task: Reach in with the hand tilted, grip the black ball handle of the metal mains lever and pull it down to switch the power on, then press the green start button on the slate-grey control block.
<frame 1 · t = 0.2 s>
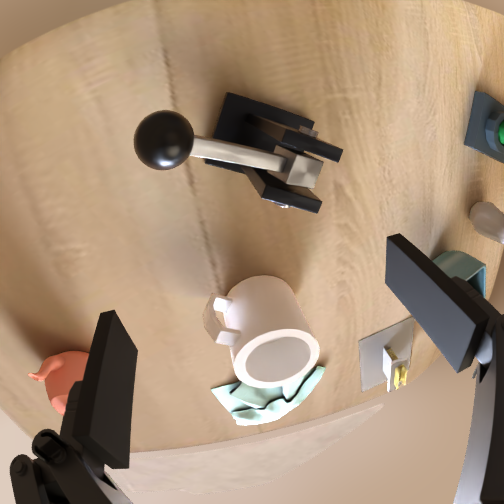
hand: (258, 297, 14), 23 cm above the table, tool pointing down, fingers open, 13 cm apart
lever: (236, 153, 20), point 15 cm above the table, hinge at 22.0°
mug: (252, 302, 44), on the table
salt shaker: (475, 212, 45), on the table
teapot: (79, 367, 45), on the table
cloth: (272, 388, 55), on the table
switch bracket: (258, 139, 34), on the table
flower pot: (435, 267, 49), on the table
platform: (386, 357, 58), on the table
control block: (487, 127, 37), on the table
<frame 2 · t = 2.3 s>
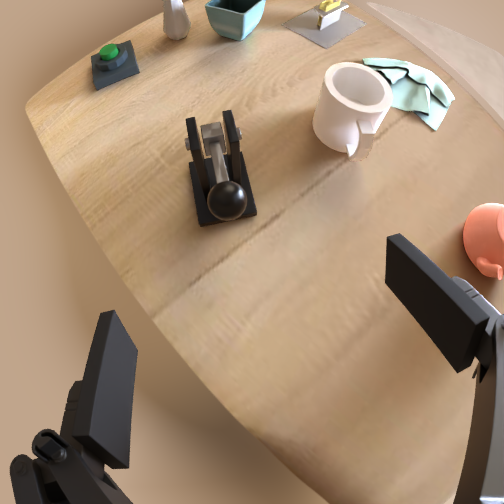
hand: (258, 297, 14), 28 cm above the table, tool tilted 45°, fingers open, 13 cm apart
lever: (219, 166, 30), point 15 cm above the table, hinge at 22.0°
mug: (342, 133, 49), on the table
salt shaker: (178, 35, 55), on the table
teapot: (482, 247, 44), on the table
cloth: (405, 87, 52), on the table
switch bracket: (221, 189, 46), on the table
flower pot: (236, 33, 55), on the table
platform: (326, 23, 57), on the table
control block: (115, 67, 53), on the table
start button: (109, 52, 48), point 5 cm above the table, slide at 0.2 cm
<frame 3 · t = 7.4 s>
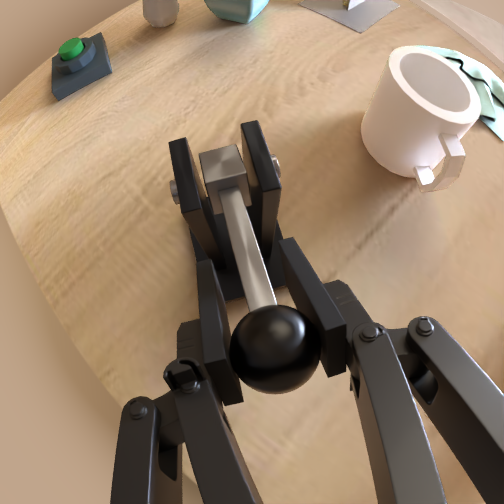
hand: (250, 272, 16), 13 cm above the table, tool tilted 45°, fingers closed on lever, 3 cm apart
lever: (245, 249, 15), point 15 cm above the table, hinge at 22.0°, touching gripper
mug: (401, 148, 33), on the table
salt shaker: (164, 21, 40), on the table
cloth: (461, 84, 37), on the table
switch bracket: (238, 244, 30), on the table
flower pot: (241, 15, 40), on the table
platform: (353, 3, 42), on the table
control block: (82, 68, 38), on the table
start button: (71, 49, 33), point 5 cm above the table, slide at 0.2 cm
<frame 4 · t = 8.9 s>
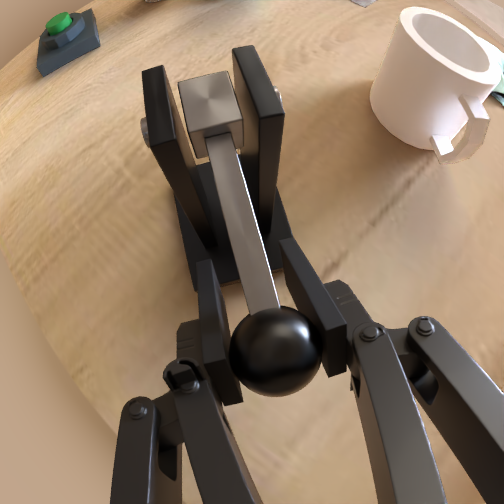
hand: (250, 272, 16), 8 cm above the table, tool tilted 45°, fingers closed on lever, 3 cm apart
lever: (241, 225, 12), point 13 cm above the table, hinge at -5.4°, touching gripper
mug: (415, 119, 28), on the table
cloth: (472, 61, 32), on the table
switch bracket: (232, 219, 26), on the table
control block: (70, 44, 33), on the table
start button: (58, 23, 29), point 5 cm above the table, slide at 0.2 cm
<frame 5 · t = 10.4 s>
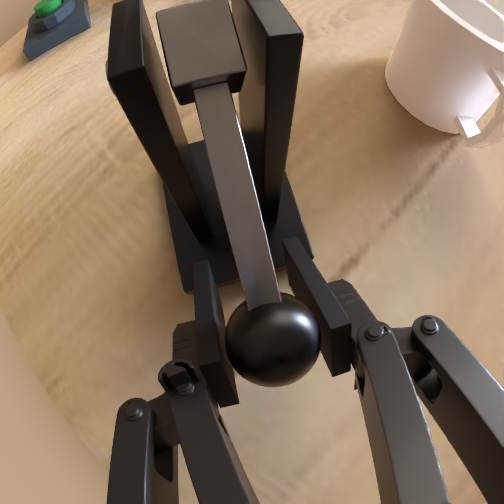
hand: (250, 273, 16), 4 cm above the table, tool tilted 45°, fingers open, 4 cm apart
lever: (238, 203, 10), point 11 cm above the table, hinge at -28.3°
mug: (434, 101, 24), on the table
switch bracket: (230, 206, 21), on the table
control block: (59, 27, 29), on the table
start button: (48, 5, 25), point 5 cm above the table, slide at 0.2 cm
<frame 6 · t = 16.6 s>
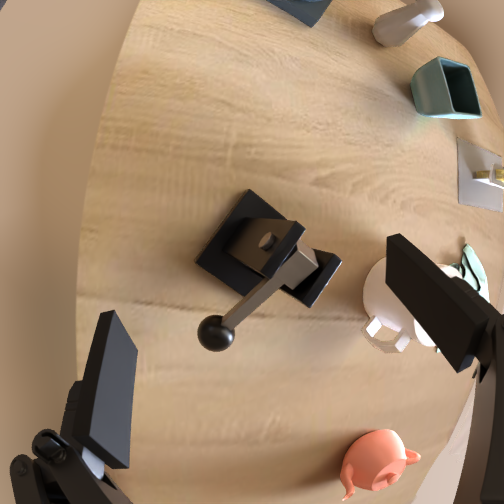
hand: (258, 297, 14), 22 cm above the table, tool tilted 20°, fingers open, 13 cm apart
lever: (250, 302, 27), point 11 cm above the table, hinge at -28.3°
mug: (384, 294, 44), on the table
salt shaker: (381, 36, 39), on the table
teapot: (361, 452, 48), on the table
cloth: (462, 298, 50), on the table
switch bracket: (247, 245, 37), on the table
flower pot: (421, 100, 43), on the table
platform: (482, 177, 49), on the table
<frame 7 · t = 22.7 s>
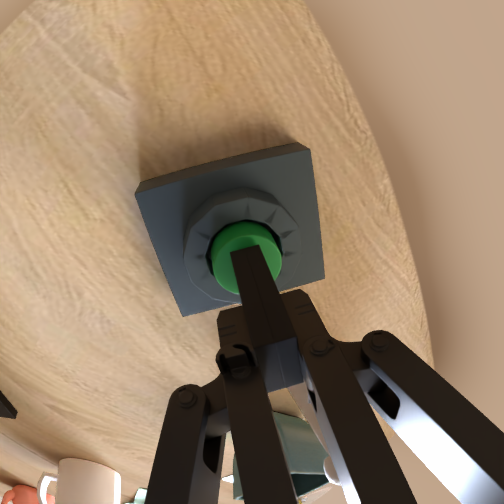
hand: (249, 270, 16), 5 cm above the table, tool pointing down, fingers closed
mug: (82, 469, 36), on the table
salt shaker: (308, 353, 29), on the table
teapot: (33, 491, 43), on the table
cloth: (170, 502, 47), on the table
flower pot: (272, 423, 34), on the table
platform: (282, 475, 45), on the table
control block: (235, 225, 21), on the table
start button: (245, 258, 17), point 4 cm above the table, slide at -0.1 cm, touching gripper
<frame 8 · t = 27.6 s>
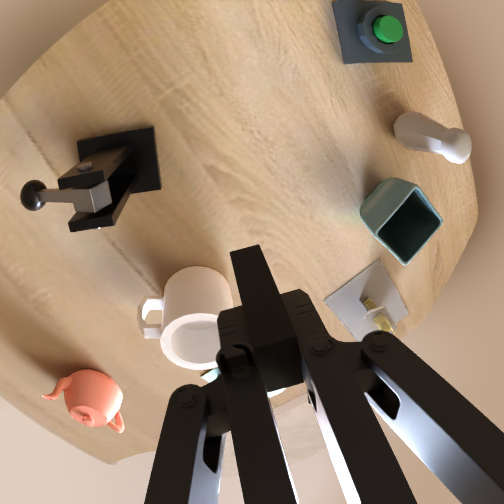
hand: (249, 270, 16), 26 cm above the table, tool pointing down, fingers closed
lever: (58, 195, 27), point 11 cm above the table, hinge at -28.3°
mug: (189, 293, 48), on the table
salt shaker: (403, 127, 41), on the table
teapot: (90, 382, 55), on the table
switch bracket: (120, 162, 37), on the table
flower pot: (378, 202, 47), on the table
platform: (370, 307, 57), on the table
control block: (370, 32, 33), on the table
start button: (388, 29, 30), point 5 cm above the table, slide at 0.1 cm
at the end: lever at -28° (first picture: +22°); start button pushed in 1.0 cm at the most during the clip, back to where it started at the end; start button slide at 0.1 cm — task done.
